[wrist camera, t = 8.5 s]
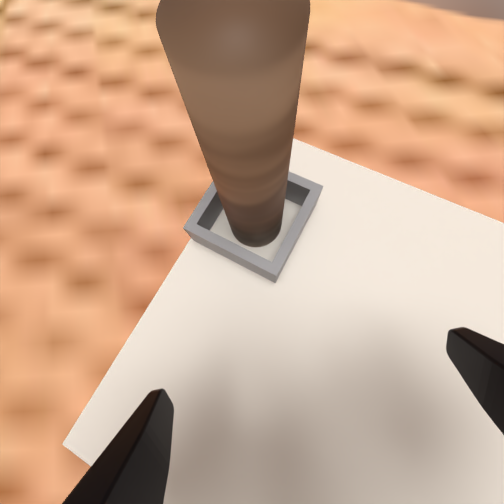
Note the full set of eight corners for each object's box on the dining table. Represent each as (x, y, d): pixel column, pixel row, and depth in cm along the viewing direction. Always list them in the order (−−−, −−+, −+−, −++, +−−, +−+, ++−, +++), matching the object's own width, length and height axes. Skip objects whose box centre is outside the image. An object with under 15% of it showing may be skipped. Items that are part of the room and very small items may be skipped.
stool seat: (476, 721, 13) (581, 922, 8) (84, 431, 17) (24, 465, 13) (580, 275, 18) (677, 258, 14) (262, 142, 23) (260, 99, 18)
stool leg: (274, 252, 18) (290, 80, 5) (224, 240, 18) (132, 55, 6) (286, 206, 19) (324, -35, 6) (238, 195, 19) (185, -48, 7)
